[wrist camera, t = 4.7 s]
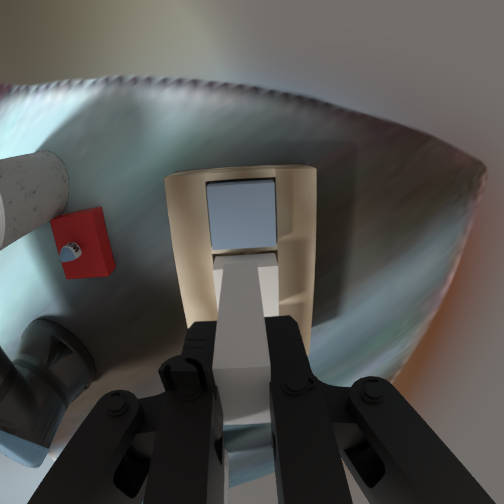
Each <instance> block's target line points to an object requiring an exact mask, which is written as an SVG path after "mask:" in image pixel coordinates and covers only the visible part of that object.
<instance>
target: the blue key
mask: <svg viewBox="0 0 504 504" xmlns="http://www.w3.org/2000/svg"><path fill="white" fill-rule="evenodd" d="M206 188H207V199H208V210H209V221H210V231H211V241H212V250H224V249H241V248H258V247H274V246H276V215H275V183H274V182H273V180H272V179H271V178H268V179H248V180H231V181H217V182H210V183H209V184H208V186H207V187H206Z"/></svg>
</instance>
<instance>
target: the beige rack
mask: <svg viewBox="0 0 504 504" xmlns="http://www.w3.org/2000/svg"><path fill="white" fill-rule="evenodd" d="M268 178H271V179H272V180H273V182H274V183H275V215H276V246H274V247H258V248H241V249H224V250H212V241H211V231H210V221H209V210H208V199H207V188H206V187H207V186H208V184H209V183H210V182H217V181H231V180H248V179H268ZM164 182H165V191H166V200H167V208H168V216H169V223H170V230H171V237H172V244H173V250H174V257H175V263H176V269H177V275H178V280H179V286H180V291H181V297H182V302H183V307H184V312H185V317H186V322H187V326H188V328H189V327H190V326H191V325H192V324H193V323H194V322H195V321H217V318H218V309H217V301H216V294H215V286H214V277H213V265H214V261H215V257H217V256H233V255H250V254H267V253H275V256H276V259H277V263H278V279H279V316H284V315H290V316H291V317H292V318H293V319H294V320H295V321H296V322H297V323H298V326H299V329H300V334H301V336H302V340H303V343H304V347H305V350H306V354H307V355H309V348H310V336H311V323H312V310H313V294H314V275H315V251H316V202H317V179H316V168H314V167H311V166H309V165H306V164H282V165H256V166H238V167H224V168H211V169H200V170H189V171H180V172H175V173H173V174H171V175H169V176H167V177H165V178H164Z"/></svg>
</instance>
